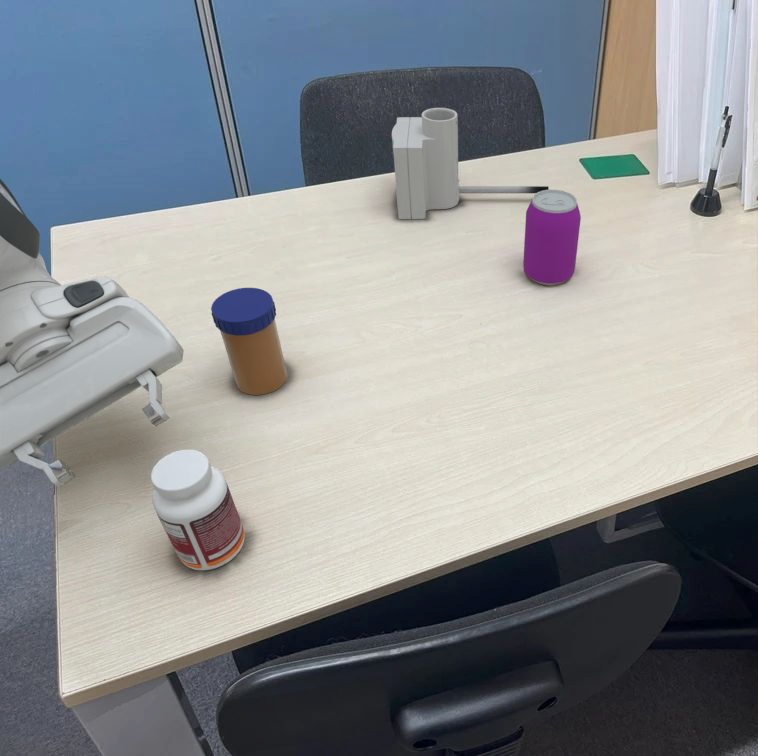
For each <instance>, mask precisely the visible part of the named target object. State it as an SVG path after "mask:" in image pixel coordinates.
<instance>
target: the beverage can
mask: <svg viewBox="0 0 758 756" xmlns="http://www.w3.org/2000/svg"><path fill="white" fill-rule="evenodd" d="M581 219H582V216H581V212H580V208H579V205H578V201H577V198H576V196H574V194H572V193H571V192H568V191H565V190H560V189H549V190H543V191H540V192H538V193H534V194H533V196H532V197H531V201H530V203H529V205H528V207H527V209H526V211H525V225H524V241H523V243H524V244H523V259H522V260H523V262H522V263H523V272H524V274H525V275H526V276H527V277H528V278H529V279H530V280H532V281H533V282H534V283H537V284H539V285H544V286H556V285H561V284H563V283H565V282H567V281H569V280H570V279H571V278H572V277H573V275H574V273H575V269H576V264H577V263H576V262H577V254H578V245H579V236H580V228H581Z"/></svg>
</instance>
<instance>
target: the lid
mask: <svg viewBox="0 0 758 756" xmlns="http://www.w3.org/2000/svg"><path fill="white" fill-rule="evenodd" d="M210 311H211V316H212V320H213V323H214V325H215V327H216V328H217V329H218V330H219V332H220V331H222V332H224V333H227V334H230V335H248V334H252V333H256V332H259V331H261V330H263V329H265V328H266V327H268V326H269V325H270V324H271V323H272V322H273V321H274V320H275V321H276V316H277V309H276V305H275V301H274V299H273V296H272V295H271V293H269V292H268V291H267V290H264V289H261V288H259V287H258V288H257V287H240V288H236V289H235V288H234V289H231V290H229V291H226V292H224V293H222V294H221V295H219V296H218V297H217V298H215V299H214V301H212V304H211V308H210Z"/></svg>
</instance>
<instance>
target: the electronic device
mask: <svg viewBox="0 0 758 756" xmlns="http://www.w3.org/2000/svg"><path fill="white" fill-rule="evenodd" d="M458 115H459V114H458V113H457V111H456V110H454V109H451V108H449V107H447V108H446V107H433V108H427V109H425V110H423V112H421V117H419V116H411V117H410V116H406V117H405V116H398V117H396V123H395V125H393V128H392V130H391V145H392V153H393V163H394V177H395V196H396V197H395V198H396V206H397V216H398V217H397V218H398V220H426V217H427V211H430V210H448V209H452V208H455V207H456V206H457V205H459V202H460V194H536V193H538V192H540V191H543V190H550V189H549V185H548V186H547V185H546V186H541V185H537V186H535V185H534V186H532V185H531V186H527V185H525V186H523V185H521V186H512V185H511V186H510V185H509V186H507V185H505V186H504V185H502V186H501V185H500V186H498V185H497V186H496V185H495V186H493V185H492V186H490V185H489V186H486V185H484V186H483V185H482V186H481V185H479V186H477V185H476V186H474V185H470V186H469V185H467V186H465V185H464V186H463V185H462V186H461V185H460V179H459V126H458V124H459V123H458V122H459V121H458Z"/></svg>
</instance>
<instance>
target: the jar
mask: <svg viewBox="0 0 758 756" xmlns="http://www.w3.org/2000/svg"><path fill="white" fill-rule="evenodd" d="M219 332H220V335H221V338H222V341H223V345H224V348H225V351H226V355H227V358H228V361H229V364H230V368H231V371H232V375H233V378H234V382H235V384H236V388H237V389H238V390H239V391H240V392H242V393H243V394H245V395H246V394H247V395H251V396H263V395H267V394H271V393H273V392H276V391H277V390H279V389H280V388H281V387H282V386H283V385H284V384H285V383H286V381H287V379H288V371H287V368H286V363H285V358H284V353H283V349H282V345H281V340H280V337H279V331H278V328H277V323H276V319H275V320H274V321H273V322H272V323H271V324H270V325H269V326H268V327H266V328H265V329H263V330H261V331H259V332H256V333H252V334H248V335H230V334H227V333H224V332H222V331H220V330H219Z"/></svg>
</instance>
